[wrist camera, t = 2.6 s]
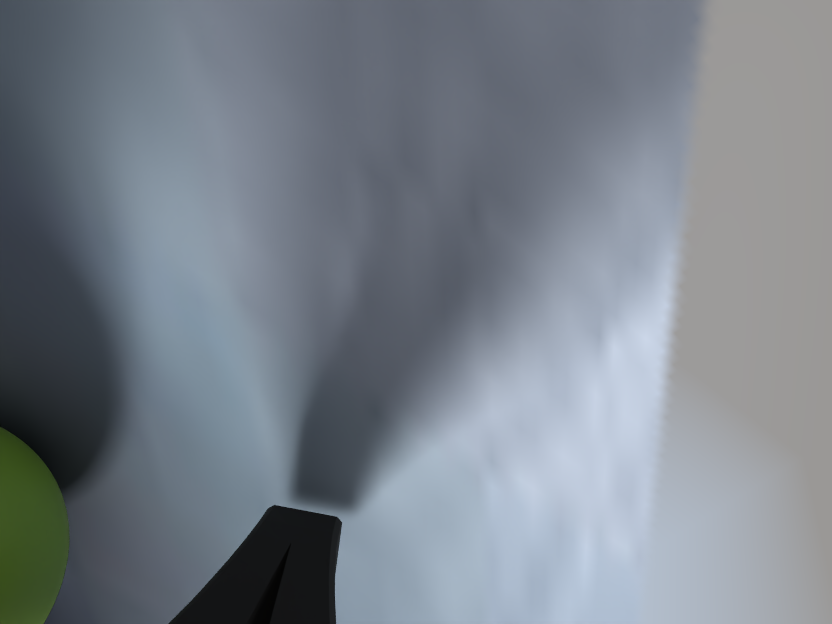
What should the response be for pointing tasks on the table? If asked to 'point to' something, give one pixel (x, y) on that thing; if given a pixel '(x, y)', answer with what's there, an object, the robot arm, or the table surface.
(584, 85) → the table surface
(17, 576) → the snail figurine
